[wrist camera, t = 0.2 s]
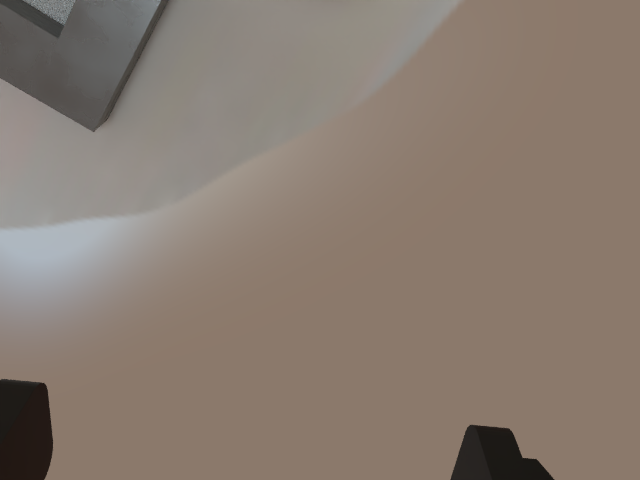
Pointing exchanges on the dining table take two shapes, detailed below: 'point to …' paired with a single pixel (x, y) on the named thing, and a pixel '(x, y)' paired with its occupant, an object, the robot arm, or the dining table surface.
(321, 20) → the dining table surface
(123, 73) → the socket plate
